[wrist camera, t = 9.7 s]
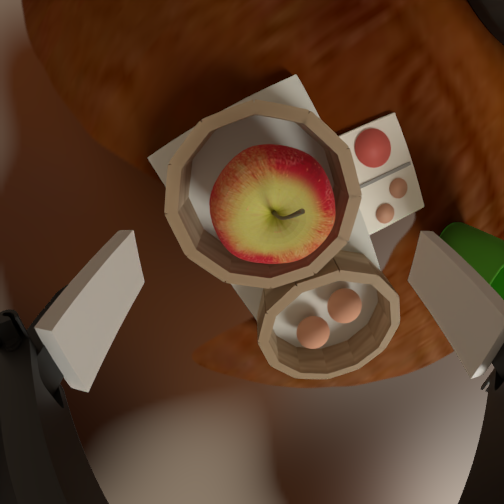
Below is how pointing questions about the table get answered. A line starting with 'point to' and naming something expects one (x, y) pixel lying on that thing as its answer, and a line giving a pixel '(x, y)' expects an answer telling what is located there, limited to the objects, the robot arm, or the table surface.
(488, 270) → the cup
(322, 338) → the ball
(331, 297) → the ball
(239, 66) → the table surface
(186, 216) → the ring
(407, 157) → the card
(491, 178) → the table surface
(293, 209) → the apple
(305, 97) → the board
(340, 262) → the ring
